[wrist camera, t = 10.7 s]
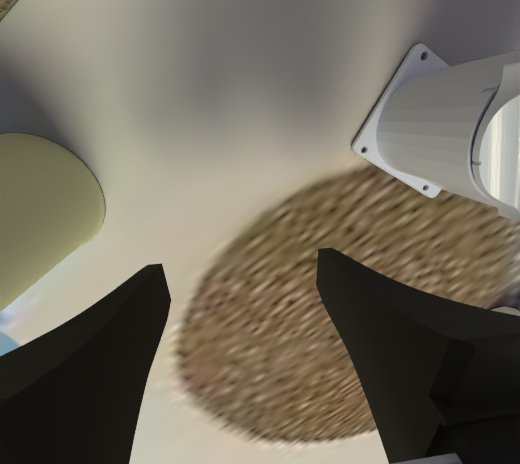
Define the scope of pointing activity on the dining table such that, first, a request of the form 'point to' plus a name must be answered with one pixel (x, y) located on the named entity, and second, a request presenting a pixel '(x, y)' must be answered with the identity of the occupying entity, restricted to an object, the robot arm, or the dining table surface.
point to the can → (42, 210)
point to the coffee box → (6, 6)
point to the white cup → (507, 310)
